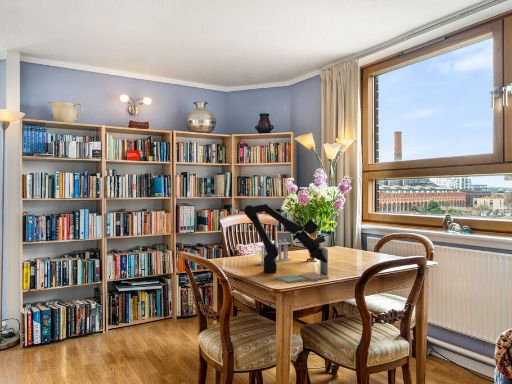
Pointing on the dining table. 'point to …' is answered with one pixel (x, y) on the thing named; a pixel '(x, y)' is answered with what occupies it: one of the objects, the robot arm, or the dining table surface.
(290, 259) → the test tube rack
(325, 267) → the tube
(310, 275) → the terracotta tile
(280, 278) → the sage tile
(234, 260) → the dining table surface
